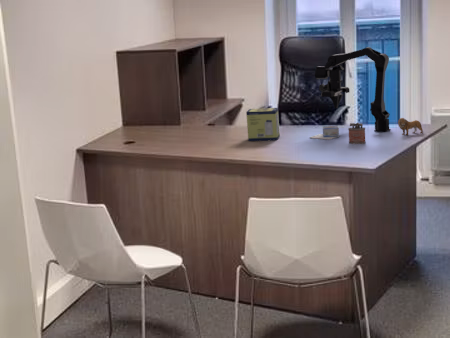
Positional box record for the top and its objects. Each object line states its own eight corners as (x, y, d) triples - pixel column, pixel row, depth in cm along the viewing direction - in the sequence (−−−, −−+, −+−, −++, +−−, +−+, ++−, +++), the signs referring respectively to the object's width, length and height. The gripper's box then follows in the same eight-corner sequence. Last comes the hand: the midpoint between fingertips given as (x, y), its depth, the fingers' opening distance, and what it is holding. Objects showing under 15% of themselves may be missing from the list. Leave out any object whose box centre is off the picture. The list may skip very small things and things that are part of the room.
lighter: (366, 142, 347) (365, 122, 344) (365, 144, 343) (364, 123, 341) (349, 142, 349) (348, 122, 347) (348, 144, 346) (347, 123, 344)
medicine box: (337, 125, 371) (338, 127, 363) (338, 133, 372) (339, 136, 364) (322, 126, 372) (323, 128, 364) (322, 134, 373) (323, 137, 365)
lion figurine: (402, 137, 354) (402, 119, 352) (395, 135, 358) (395, 117, 356) (426, 133, 359) (426, 115, 357) (419, 131, 364) (419, 114, 362)
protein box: (251, 137, 382) (249, 108, 379) (280, 136, 379) (278, 107, 375) (247, 141, 372) (245, 111, 369) (277, 140, 369) (275, 110, 366)
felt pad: (339, 136, 367) (339, 135, 367) (329, 139, 360) (329, 138, 360) (320, 134, 375) (320, 133, 375) (309, 138, 368) (309, 137, 368)
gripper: (331, 76, 391) (333, 105, 394) (312, 80, 377) (313, 110, 381) (349, 76, 383) (350, 105, 387) (330, 81, 370) (331, 111, 373)
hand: (336, 108), depth 382 cm, fingers closed
